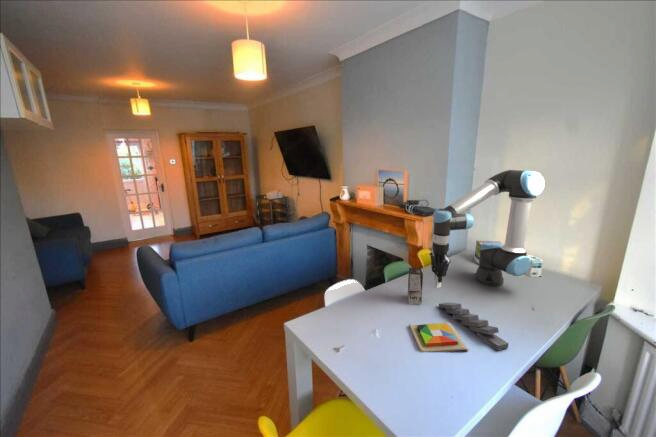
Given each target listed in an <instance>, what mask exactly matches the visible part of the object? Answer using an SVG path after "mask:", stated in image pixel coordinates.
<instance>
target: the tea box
mask: <svg viewBox="0 0 656 437" xmlns="http://www.w3.org/2000/svg"><path fill="white" fill-rule="evenodd" d="M475 241H476V244H475V251H474V257H473V258H474V259H473V260H474V262H475V263H478V264H479V257H480V249H481V245H482V244H483V243H486V242H496V243H502V242H501V241H497V240H494V241H492V240H475ZM478 264H477V265H478Z"/></svg>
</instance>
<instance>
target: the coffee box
mask: <svg viewBox="0 0 656 437" xmlns="http://www.w3.org/2000/svg"><path fill="white" fill-rule="evenodd" d="M422 270H423V269H422V268H421V267H420V268H419V267H408V273H407V274H408V277H407V281H408V282H407V301H408V304H410V305H422V296H423V285H424V284H423V283H424V281H423V280H424V274H423V271H422Z"/></svg>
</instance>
